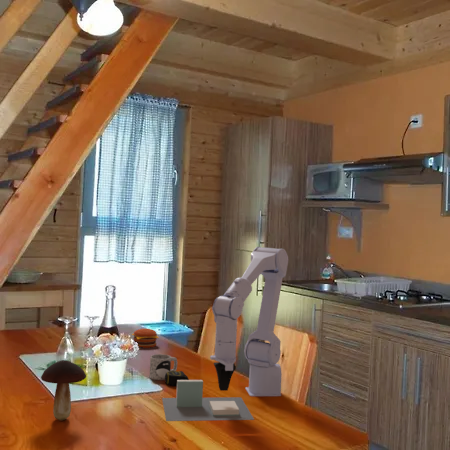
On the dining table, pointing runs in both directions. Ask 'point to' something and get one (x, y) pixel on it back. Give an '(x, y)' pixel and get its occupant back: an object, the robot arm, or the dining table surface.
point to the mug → (161, 366)
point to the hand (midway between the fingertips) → (223, 389)
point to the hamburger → (145, 338)
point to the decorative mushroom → (63, 385)
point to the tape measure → (174, 377)
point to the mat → (203, 410)
